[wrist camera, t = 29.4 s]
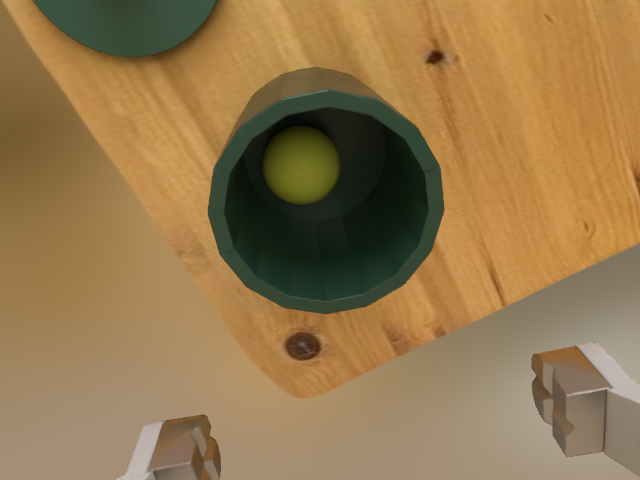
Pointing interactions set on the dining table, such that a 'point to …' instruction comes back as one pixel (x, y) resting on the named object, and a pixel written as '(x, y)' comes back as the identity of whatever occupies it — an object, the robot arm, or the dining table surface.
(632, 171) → the dining table surface
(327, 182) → the ball
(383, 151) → the canister
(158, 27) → the canister lid
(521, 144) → the dining table surface
